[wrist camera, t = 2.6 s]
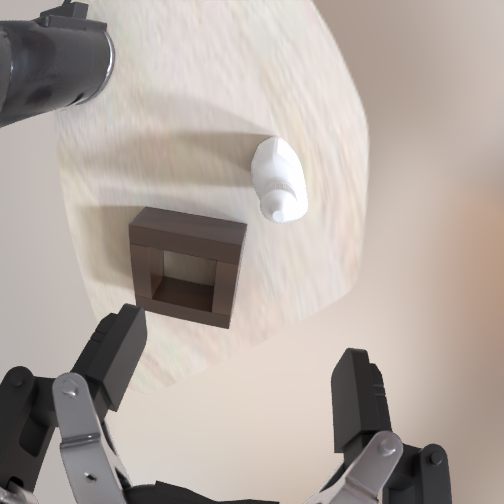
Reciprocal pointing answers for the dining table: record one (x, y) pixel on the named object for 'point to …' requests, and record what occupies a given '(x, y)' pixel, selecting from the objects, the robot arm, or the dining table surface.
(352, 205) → the dining table surface
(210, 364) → the dining table surface
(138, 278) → the holder
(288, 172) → the eye dropper bottle
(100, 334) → the robot arm
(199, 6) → the dining table surface
